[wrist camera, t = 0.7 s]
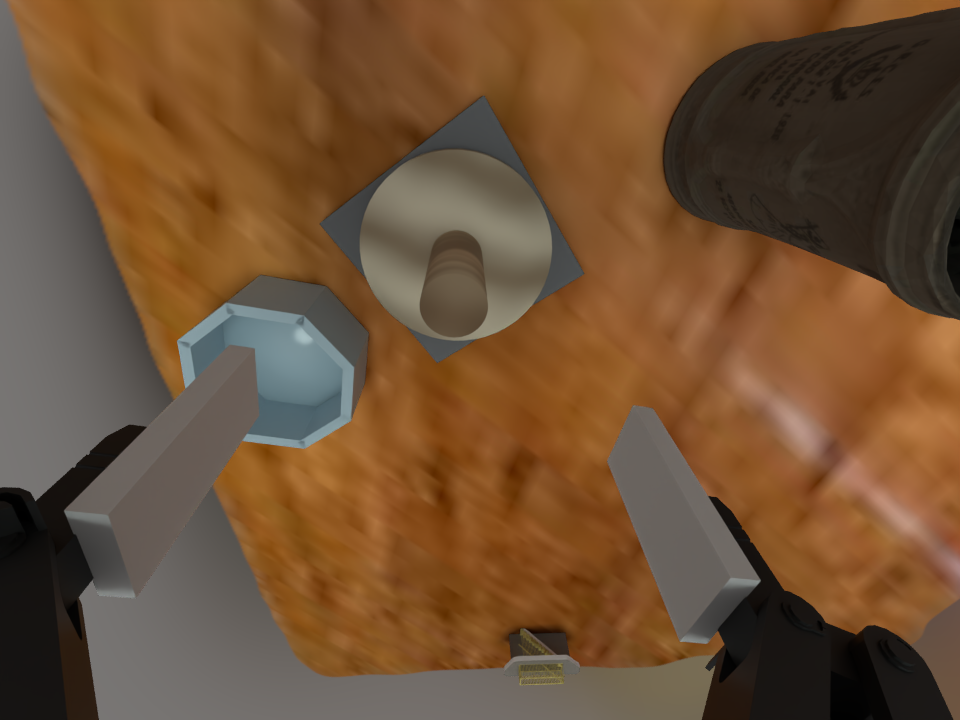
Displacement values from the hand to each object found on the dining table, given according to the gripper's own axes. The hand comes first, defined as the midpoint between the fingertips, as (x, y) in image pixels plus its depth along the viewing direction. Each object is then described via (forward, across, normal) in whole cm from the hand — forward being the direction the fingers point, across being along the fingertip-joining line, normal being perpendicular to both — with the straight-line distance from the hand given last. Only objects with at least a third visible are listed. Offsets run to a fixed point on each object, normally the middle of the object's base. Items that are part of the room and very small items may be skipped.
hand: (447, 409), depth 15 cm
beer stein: (+20, +20, +10) cm, 30 cm away
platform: (+21, +20, -51) cm, 58 cm away
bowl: (+20, -12, -11) cm, 26 cm away
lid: (+19, 0, 0) cm, 19 cm away
